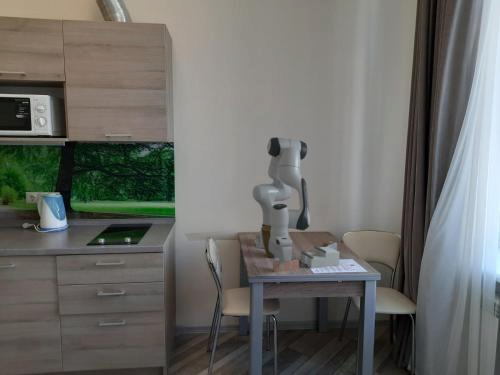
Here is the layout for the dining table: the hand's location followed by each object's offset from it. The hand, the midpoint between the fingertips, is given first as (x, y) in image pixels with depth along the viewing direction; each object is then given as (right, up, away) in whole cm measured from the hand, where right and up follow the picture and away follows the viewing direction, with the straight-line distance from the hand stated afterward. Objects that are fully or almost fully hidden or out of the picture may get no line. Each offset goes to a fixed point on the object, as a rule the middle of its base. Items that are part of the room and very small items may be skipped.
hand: (278, 265), depth 164 cm
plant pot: (-1, -1, +24) cm, 24 cm away
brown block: (+4, -3, +2) cm, 5 cm away
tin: (+31, -1, +25) cm, 40 cm away
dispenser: (+22, -2, +12) cm, 25 cm away
